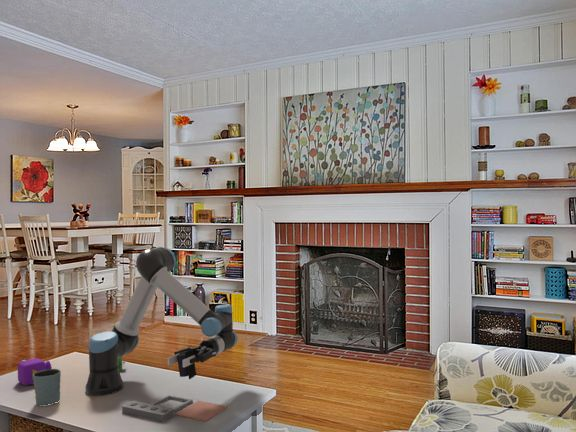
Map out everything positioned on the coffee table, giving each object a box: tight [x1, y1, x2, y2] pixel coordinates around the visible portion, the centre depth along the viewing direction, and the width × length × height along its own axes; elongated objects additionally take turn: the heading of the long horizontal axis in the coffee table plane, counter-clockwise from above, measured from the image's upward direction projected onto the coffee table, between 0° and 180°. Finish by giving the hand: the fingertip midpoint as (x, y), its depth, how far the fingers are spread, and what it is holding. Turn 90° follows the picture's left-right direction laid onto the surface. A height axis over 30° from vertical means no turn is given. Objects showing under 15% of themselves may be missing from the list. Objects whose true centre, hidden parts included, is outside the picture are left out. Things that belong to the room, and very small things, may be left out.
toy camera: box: [17, 358, 53, 386], centre depth 223 cm, size 11×14×10 cm
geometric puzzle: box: [118, 356, 126, 371], centre depth 237 cm, size 7×7×8 cm
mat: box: [174, 400, 229, 422], centre depth 185 cm, size 14×14×1 cm
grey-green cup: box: [33, 368, 62, 405], centre depth 197 cm, size 10×10×12 cm
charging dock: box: [121, 394, 194, 423], centre depth 189 cm, size 20×20×3 cm
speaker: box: [177, 349, 197, 380], centre depth 189 cm, size 8×6×10 cm
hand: (175, 362), depth 184 cm, fingers closed on speaker, 6 cm apart
